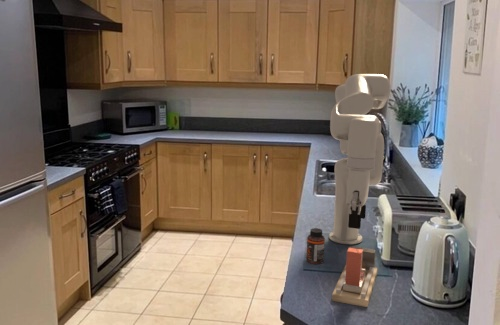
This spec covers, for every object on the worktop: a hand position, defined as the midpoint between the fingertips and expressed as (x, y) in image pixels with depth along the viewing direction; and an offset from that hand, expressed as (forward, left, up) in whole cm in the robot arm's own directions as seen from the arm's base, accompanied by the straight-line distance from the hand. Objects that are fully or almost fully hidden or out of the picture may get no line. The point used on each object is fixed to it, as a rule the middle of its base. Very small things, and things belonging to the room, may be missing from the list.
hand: (356, 222), depth 138 cm
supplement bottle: (-21, -16, -23) cm, 35 cm away
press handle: (-2, 0, -20) cm, 20 cm away
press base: (-7, 0, -23) cm, 24 cm away
